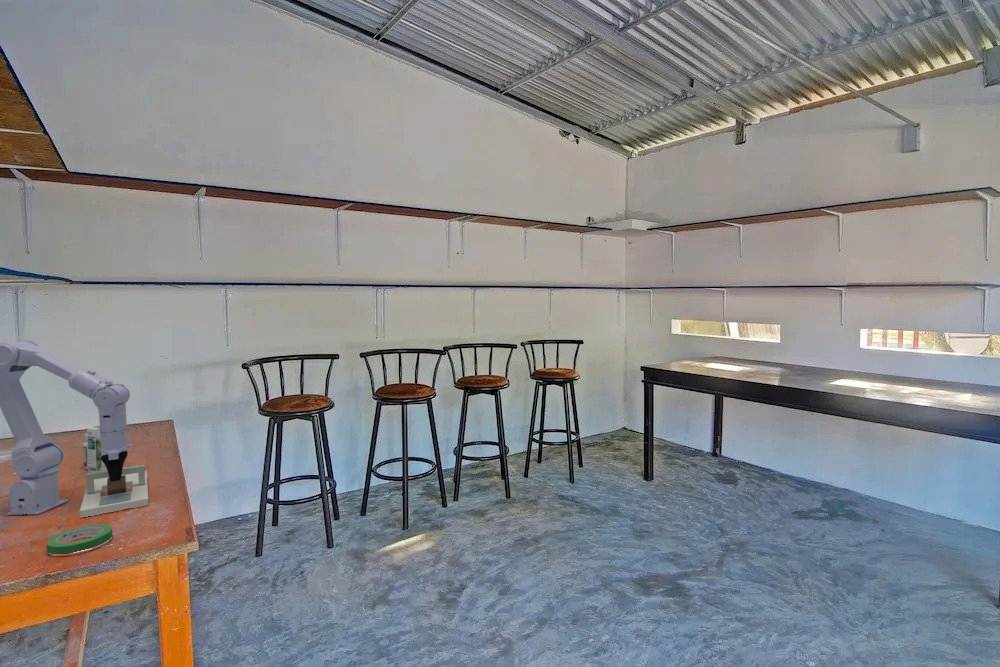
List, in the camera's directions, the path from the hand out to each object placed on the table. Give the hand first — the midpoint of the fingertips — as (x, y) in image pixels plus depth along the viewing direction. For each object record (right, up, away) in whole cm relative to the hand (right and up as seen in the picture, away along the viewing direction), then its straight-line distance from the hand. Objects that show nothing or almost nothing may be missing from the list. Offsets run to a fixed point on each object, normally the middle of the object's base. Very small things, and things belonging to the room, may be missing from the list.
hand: (115, 480), depth 137 cm
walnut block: (-4, -6, +6) cm, 9 cm away
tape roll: (+11, -7, -25) cm, 29 cm away
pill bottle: (-32, -5, +33) cm, 46 cm away
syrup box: (-27, -6, +30) cm, 40 cm away
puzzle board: (-4, -6, +6) cm, 9 cm away
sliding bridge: (-4, -4, +5) cm, 7 cm away
